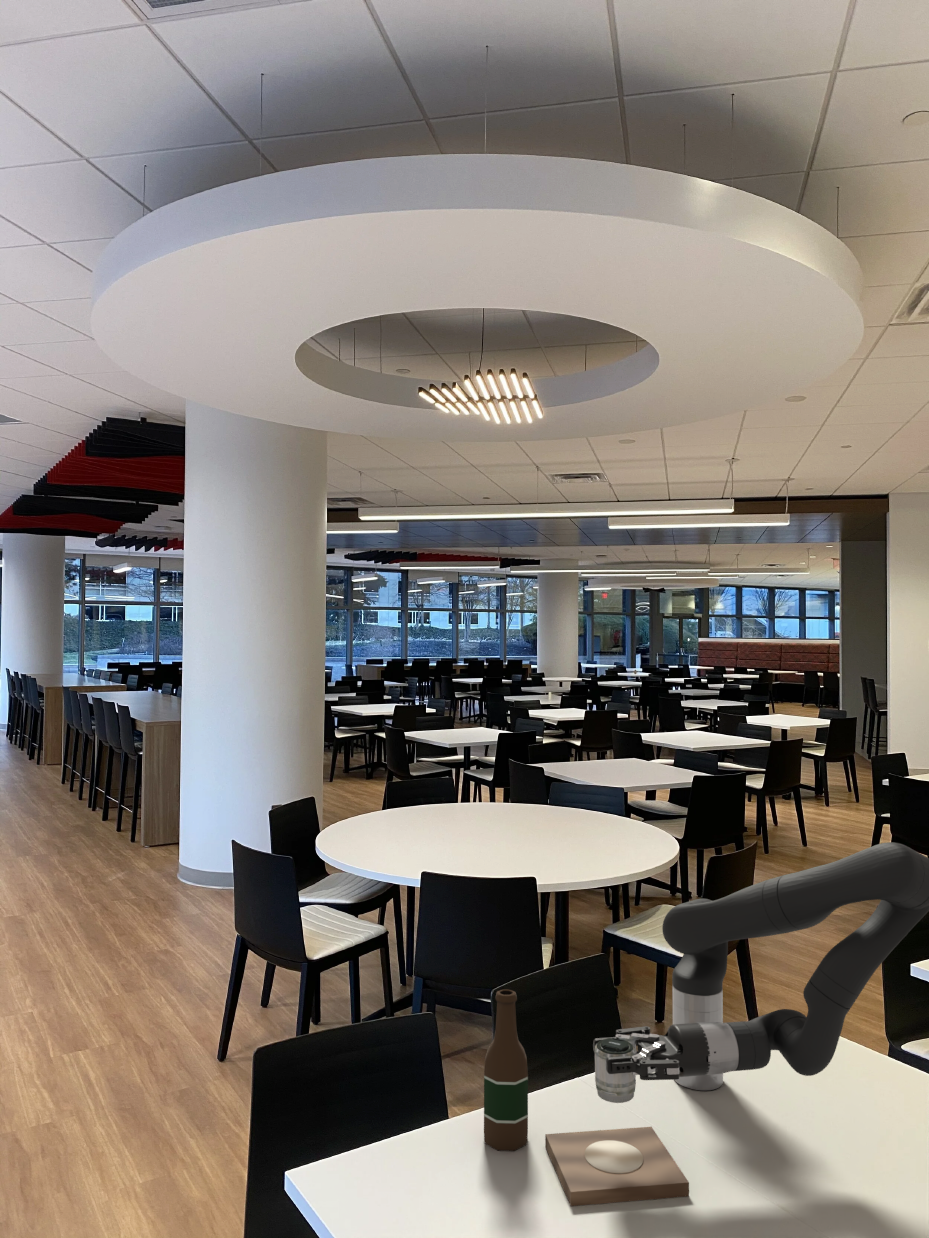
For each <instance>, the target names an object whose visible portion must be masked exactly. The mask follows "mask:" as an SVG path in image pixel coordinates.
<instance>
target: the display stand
mask: <svg viewBox="0 0 929 1238" xmlns="http://www.w3.org/2000/svg"><path fill="white" fill-rule="evenodd" d="M544 1136H545V1137H544V1138H545V1139H544V1140H545V1143H544V1145H545V1149H546V1151H547V1155H548V1156H549V1158H550V1161H551V1163H552V1166H553V1168H554V1170H555V1172H556V1174H557V1176H558V1179H559V1183H560V1185H561V1187H562V1189H563V1191H564V1193H565V1196H566V1198H567V1200H568V1203H569V1206H570V1207H576V1206H587V1205H600V1204H610V1203H611V1204H613V1203H626V1202H636V1201H648V1200H650V1201H651V1200H658V1199H659V1200H660V1199H672V1198H673V1199H674V1198H681V1197H682V1198H684V1197H690V1182H689V1180H688V1179H687V1177H686V1176H685V1174H684V1173H683V1171H682V1170H681V1168H680V1167H679V1166H678V1164H677V1162H676V1161H675V1160H674V1158H673V1156H672V1155H671V1153H670V1152H669V1151H668V1149H667V1147H666V1146H665V1145H664V1143H663V1141H662V1140H661V1138H660V1137H659V1135H658V1134H657V1132H656V1131H655V1130H654V1128H653V1127H652V1126H641V1127H625V1128H615V1129H614V1128H613V1129H602V1130H601V1129H600V1130H587V1131H573V1132H570V1131H569V1132H559V1133H558V1132H557V1133H545V1135H544Z"/></svg>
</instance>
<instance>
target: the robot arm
mask: <svg viewBox="0 0 929 1238" xmlns="http://www.w3.org/2000/svg"><path fill="white" fill-rule="evenodd" d="M876 900H880V902H879V903H878V905H877V906H876V908H875V910H874V911H873V912H872V914H870V916H869V917H868V919H867V920H865V921H864V923H863V924H862V925H860V926H859V927H857V929H855V930H854V931H852V932H851V933H850V934H849V935H847V936H846V937H845V938H843V939H842V940H841V941H839V942H838V943H836V944H835V945H834V946H833V947H832V948H830V950H829V951H828V952H827V953H825V954H826V955H824V957H823V958H822V960H820V962H819V963H818V966H817V967H816V969H815V971H814V972H813V973H812V975H811V977H810V978H809V980H808V981H807V983H806V984H805V987H804V988H803V993H802V995H803V998H804V1001H805V1003H806V1006H807V1015H805V1014H803V1012H800V1011H798V1010H795V1009H790V1008H789V1009H788V1008H782V1009H777V1010H773V1011H772V1012H768V1013H765V1014H763V1015H760V1016H757V1017H755V1018H752V1019H751V1020H748V1021H746V1020H745V1021H742V1020H741V1021H732V1022H731V1021H730V1022H727V1021H726V1022H724V1017H723V1016H724V1011H723V1010H724V1009H723V1008H724V1007H723V1005H724V1004H723V1002H724V999H723V995H724V994H723V993H724V992H723V983H724V980H725V977H726V973H727V969H728V951H729V949H728V948H729V945H728V944H729V942H732V941H737V940H739V941H740V940H746V939H754V938H758V939H759V938H763V937H769V936H770V937H772V936H775V935H782V934H788V933H794V932H797V931H801V930H806V929H809V928H812V927H815V926H817V925H818V924H820V923H822V922H823V921H824V920H826V919H827V918H828V917H830V915H831V914H833V912H835V911H836V910H837V909H839V908H840V907H841V908H842V907H843V906H847V905H849V904H854V903H855V904H856V903H860V902H865V901H876ZM928 912H929V857H927V856H925V855H924V854H922V853H920V852H918V851H916V850H914V849H912V848H911V847H909V846H907V845H905V844H903V843H900V842H894V841H893V842H889V841H888V842H882V843H878V844H875V845H873V846H869V847H867V848H865V849H861V850H860V851H857V852H855V853H853V854H850V855H848V856H845V857H843V858H841V859H838V860H836V861H832V862H829V863H826V864H821V865H818V866H814V867H810V868H808V869H803V870H800V871H796V872H792V873H788V874H787V873H786V874H784V875H780V876H777V877H772V878H769V879H766V880H763V881H760V882H757V883H755V884H752V885H750V886H747V887H744V888H742V889H740V890H738V891H735V892H732V893H731V894H729V895H726V896H724V897H721V898H718V899H715V900H711V899H708V898H697V899H693V900H690V901H686V902H683V903H679V904H677V905H675V906H674V907H672V908H671V909H670V910H669V911H668V912H667V913H666V914H665V916H664V919H663V923H662V935H663V937H664V939H665V942H666V943H667V944H668V945H669V947H671V948H672V949H673V950H674V951H676V952H679V953H680V954H682V957H681V959H680V960H679V962H678V963H677V965H676V966H675V967H674V968H673V970H672V1024H671V1025H669V1027H668V1028H667V1031H666V1033H665V1034H664V1035H661V1034H655V1033H651V1027H650V1026H636V1027H629V1028H628V1027H627V1028H620V1029H616V1030H615V1036H613V1037H609V1038H616V1039H622V1040H625V1041H628V1042H629V1043H631V1044H632V1045H633V1047H634V1048H635V1055H634V1056H632V1059H631V1057H630V1056H620V1057H608V1058H607V1059H606V1070H607V1072H608V1073H609V1074H618V1073H631V1072H632V1074H634V1075H636V1076H639V1080H642V1081H666V1080H667V1081H668V1080H669V1081H670V1080H674V1081H675V1082H676V1083H677V1084H679V1085H680V1086H682V1087H685V1088H687V1089H691V1090H696V1091H711V1090H712V1091H713V1090H716V1089H718V1088H720V1087H722V1086H723V1084H724V1074H726V1073H731V1072H739V1071H751V1070H752V1071H753V1070H760V1069H763V1068H765V1067H766V1066H768V1064H769V1063H770V1060H771V1056H772V1055H771V1054H772V1053H771V1052H772V1051H778V1052H779V1053H780V1054H781V1055H782V1057H783V1058H784V1059H785V1060H786V1063H787V1064H789V1067H791V1068H792V1069H793V1071H795V1072H796V1073H798V1074H799V1075H801V1076H805V1077H812V1076H814V1075H815V1076H816V1075H817V1074H819V1073H821V1072H822V1071H824V1070H826V1068H827V1067H828V1066H829V1065H830V1063H831V1061H832V1059H833V1057H834V1055H835V1054H836V1053H835V1052H836V1050H837V1046H838V1044H839V1043H838V1042H839V1040H840V1036H841V1034H842V1030H843V1026H844V1023H845V1019H846V1017H847V1014H849V1012H850V1010H851V1008H852V1007H853V1005H854V1004H855V1002H856V1001H857V999H858V998H859V996H860V995H861V993H862V991H863V990H864V988H865V986H866V985H867V983H868V982H869V981H870V979H871V978H872V976H873V975H874V973H875V972H876V971H877V969H878V968H879V967H880V966H881V964H882V963H883V962H884V961H885V960H886V958H887V957H888V956H889V955H890V954H891V952H893V950H894V949H895V948H896V947H897V946H898V945H899V944H900V943H901V942H902V940H904V939H905V937H907V935H908V934H909V933H910V932H911V931H912V930H913V928H914V927H915V926H916V925H917V924H918V923H919V922H920V921H921V920H922V919H923V918H924V916H926V915H927V914H928ZM607 1038H608V1037H599V1038H598V1037H597V1038H594V1039H593V1041H592V1042H593V1044H592V1048H593V1049H592V1050H593V1053H595V1046H596V1044H597V1043H598V1042H599V1041H601V1040H603V1039H607Z"/></svg>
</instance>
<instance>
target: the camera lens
mask: <svg viewBox="0 0 929 1238" xmlns="http://www.w3.org/2000/svg"><path fill="white" fill-rule="evenodd" d="M606 1038H607V1039H603V1040H601V1041H599V1042H598V1043H597V1044H596V1046H595V1052H594V1074H595V1075H594V1077H595V1078H594V1082H595V1087H596V1090H597V1091H596V1092H597V1096H598V1097H599V1098H600V1099H601V1100H604V1101H605V1102H609V1103H614V1104H623V1103H628V1102H630V1101H631V1100H633V1099H634V1097H635V1092H636V1087H637V1085H636V1083H637V1082H636V1080H637V1079H636V1076H637V1075H634V1074H632V1072H631V1073H618V1074H609V1073H608V1072H607V1070H606V1059H607V1058H608V1057H620V1056H630V1057H631V1059H632V1056H634V1055H635V1048H634V1047H633V1045H632V1044H631V1043H629V1042H628V1041H625V1040H622V1039H616V1038H610V1037H606Z"/></svg>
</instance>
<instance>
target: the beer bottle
mask: <svg viewBox="0 0 929 1238" xmlns="http://www.w3.org/2000/svg"><path fill="white" fill-rule="evenodd" d="M495 994H496V995H495V1001H496V1016H495V1017H496V1018H495V1032H494V1037H493V1040H492V1041H491V1042H490V1044H489V1046H488V1048H487V1051H486V1054H485V1057H484V1068H483V1071H484V1073H483V1139H484V1143H485V1145H488V1146H489V1147H490V1148H492V1149H494V1150H496V1151H505V1152H507V1151H508V1152H515V1151H517V1150H519V1149H521V1148H523V1147H525V1146H527V1145H528V1144H527V1143H528V1133H529V1072H528V1059H527V1054H526V1051H525V1048H524V1046H523V1045H522V1043H521V1042H520V1041H519V1037H518V1031H517V1015H516V1014H517V1013H516V1010H517V1009H516V1002H517V1001H518V996H517V993H516V991H514V990H512V989H500V990H497V991H496V993H495Z"/></svg>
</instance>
